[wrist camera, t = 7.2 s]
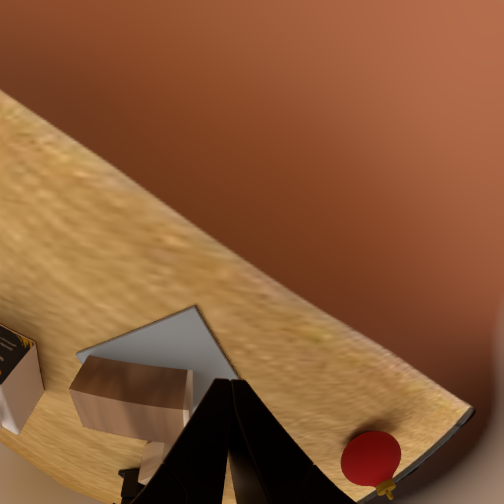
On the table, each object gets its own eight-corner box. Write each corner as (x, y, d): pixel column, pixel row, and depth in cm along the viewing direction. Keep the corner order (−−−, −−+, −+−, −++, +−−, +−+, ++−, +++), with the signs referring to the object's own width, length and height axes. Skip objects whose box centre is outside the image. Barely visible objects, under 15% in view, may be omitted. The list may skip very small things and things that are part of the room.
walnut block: (188, 410, 17) (68, 388, 16) (190, 445, 18) (83, 426, 17) (192, 370, 21) (88, 354, 20) (192, 407, 22) (97, 392, 21)
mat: (274, 429, 25) (274, 432, 24) (173, 455, 25) (172, 458, 24) (194, 305, 20) (194, 307, 20) (77, 352, 20) (75, 354, 20)
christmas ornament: (393, 430, 28) (425, 485, 18) (347, 459, 28) (371, 516, 19) (376, 411, 26) (414, 476, 16) (323, 444, 26) (348, 512, 17)
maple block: (196, 449, 24) (195, 487, 19) (174, 461, 25) (171, 496, 20) (165, 433, 23) (160, 472, 18) (144, 445, 24) (137, 481, 19)
